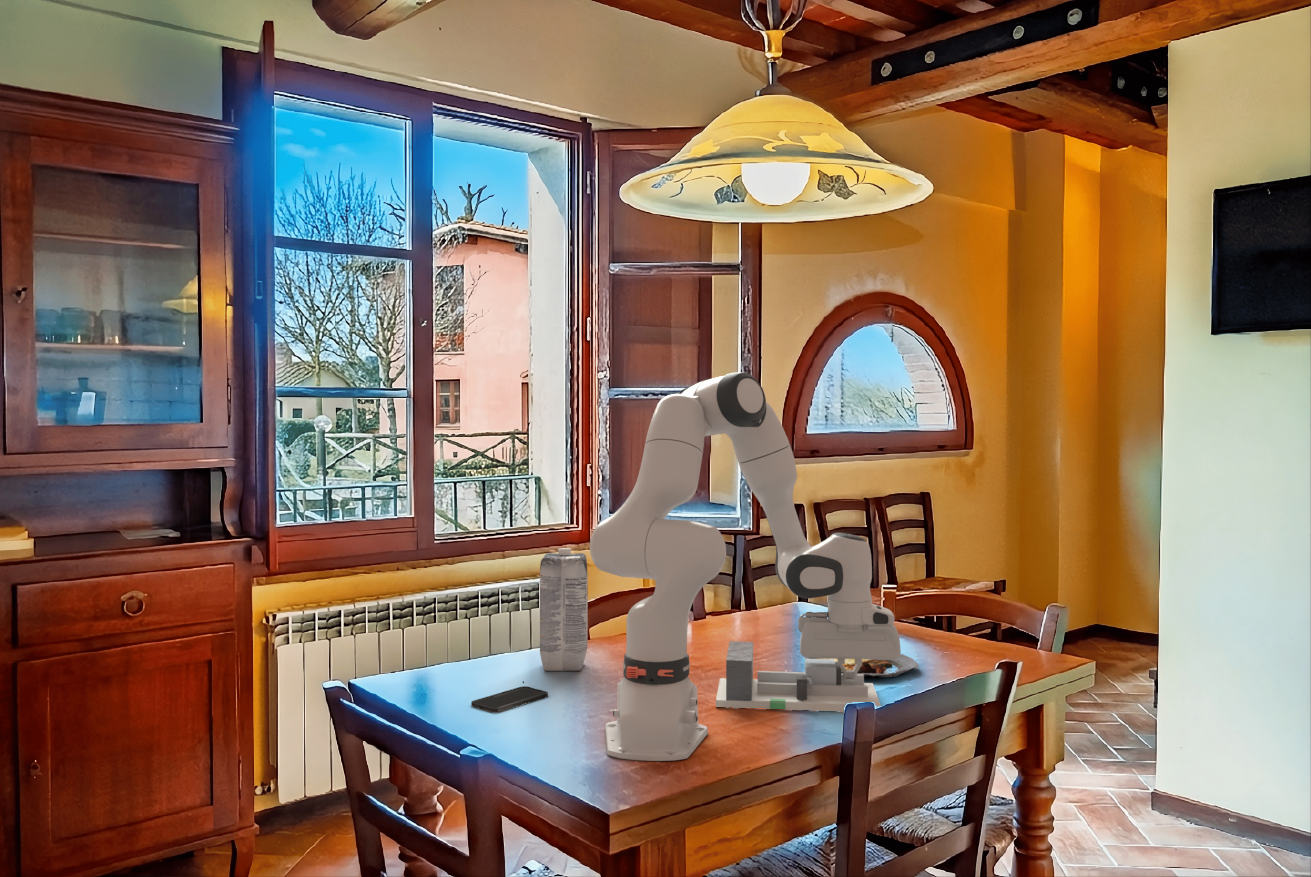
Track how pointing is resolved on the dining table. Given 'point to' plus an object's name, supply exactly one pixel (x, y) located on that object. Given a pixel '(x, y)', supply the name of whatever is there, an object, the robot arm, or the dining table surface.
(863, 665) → the food plate
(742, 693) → the grey rectangular block
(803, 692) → the block
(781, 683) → the base
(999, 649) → the dining table surface
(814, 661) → the block
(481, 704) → the phone
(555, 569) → the juice carton
